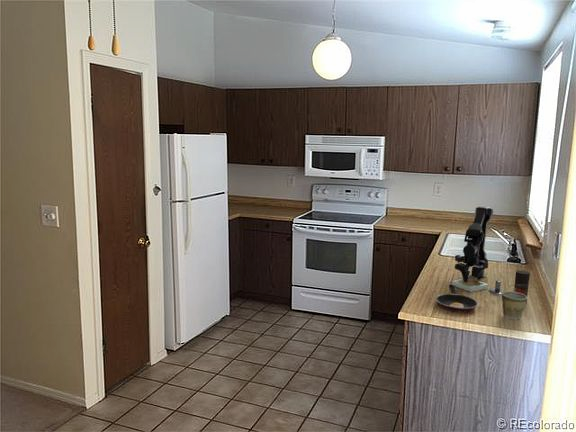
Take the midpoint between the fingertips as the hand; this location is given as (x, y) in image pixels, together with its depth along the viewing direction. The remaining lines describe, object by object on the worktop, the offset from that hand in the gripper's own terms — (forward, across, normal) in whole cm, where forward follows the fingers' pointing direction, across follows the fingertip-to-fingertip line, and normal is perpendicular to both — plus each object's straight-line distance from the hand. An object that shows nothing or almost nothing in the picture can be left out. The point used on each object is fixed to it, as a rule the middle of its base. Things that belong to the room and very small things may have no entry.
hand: (470, 281), depth 246 cm
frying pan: (+4, +24, +11) cm, 27 cm away
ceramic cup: (+3, +14, +36) cm, 39 cm away
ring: (+1, 0, 0) cm, 1 cm away
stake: (+3, -6, +12) cm, 14 cm away
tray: (+3, 0, 0) cm, 3 cm away
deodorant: (+3, -4, +26) cm, 27 cm away
